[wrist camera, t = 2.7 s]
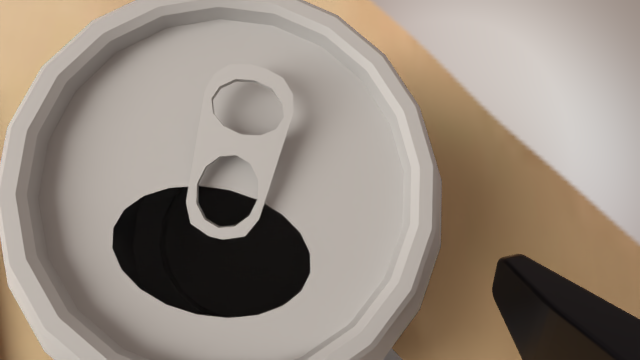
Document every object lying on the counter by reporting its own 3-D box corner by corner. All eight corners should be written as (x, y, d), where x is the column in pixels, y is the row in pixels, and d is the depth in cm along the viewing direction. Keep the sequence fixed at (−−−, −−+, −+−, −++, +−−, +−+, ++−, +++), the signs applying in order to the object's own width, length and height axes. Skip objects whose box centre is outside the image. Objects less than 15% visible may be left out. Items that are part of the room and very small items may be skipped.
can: (111, 320, 18) (-171, 408, 6) (171, 120, 19) (43, -126, 7) (320, 364, 18) (441, 524, 6) (361, 167, 20) (518, 9, 8)
